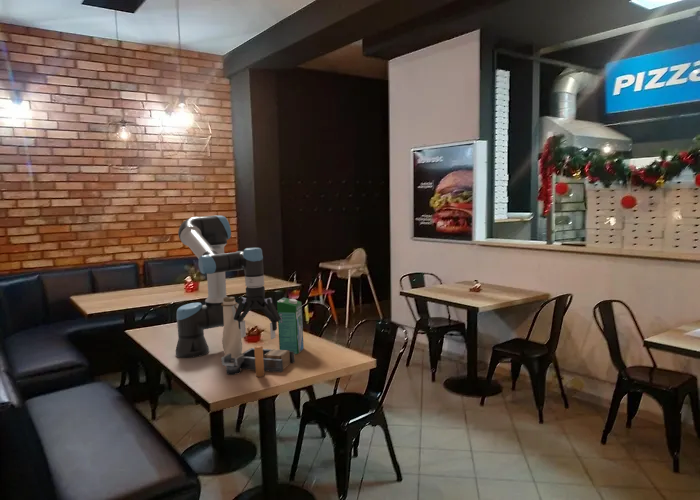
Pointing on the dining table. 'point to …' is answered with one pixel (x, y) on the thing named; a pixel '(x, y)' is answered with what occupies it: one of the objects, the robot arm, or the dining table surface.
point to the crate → (279, 356)
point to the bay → (269, 363)
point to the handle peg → (259, 361)
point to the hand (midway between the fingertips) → (258, 337)
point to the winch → (232, 363)
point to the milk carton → (290, 325)
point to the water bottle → (231, 328)
